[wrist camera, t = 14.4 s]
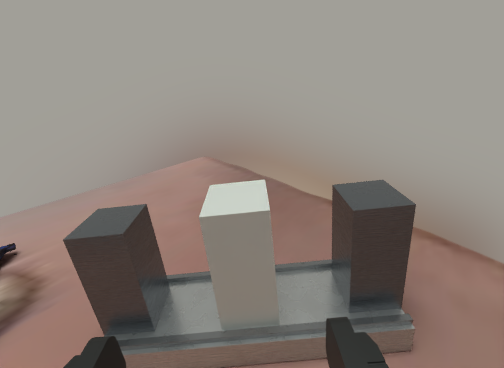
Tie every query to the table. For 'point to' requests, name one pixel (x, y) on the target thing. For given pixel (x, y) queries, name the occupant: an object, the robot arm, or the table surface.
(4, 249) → the snack package
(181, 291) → the rail
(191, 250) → the table surface
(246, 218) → the block
